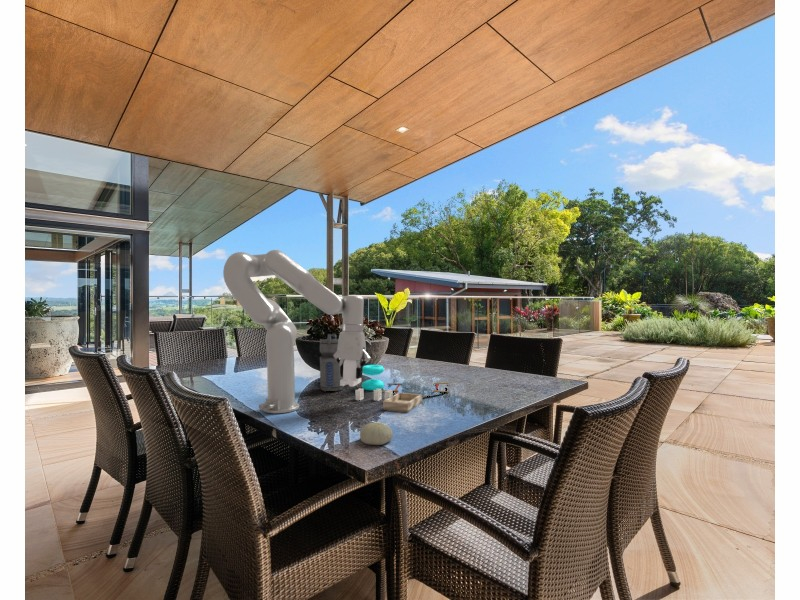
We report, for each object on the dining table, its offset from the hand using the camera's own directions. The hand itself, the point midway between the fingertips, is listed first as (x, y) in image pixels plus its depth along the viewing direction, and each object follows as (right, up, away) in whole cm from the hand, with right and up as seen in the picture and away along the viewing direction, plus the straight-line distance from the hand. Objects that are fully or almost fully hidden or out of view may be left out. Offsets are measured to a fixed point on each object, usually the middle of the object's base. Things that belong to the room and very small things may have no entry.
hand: (351, 376), depth 150 cm
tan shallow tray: (+19, -11, 0) cm, 22 cm away
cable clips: (+8, -11, +9) cm, 16 cm away
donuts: (+6, -11, +30) cm, 32 cm away
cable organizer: (0, -3, 0) cm, 3 cm away
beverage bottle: (-12, -11, +29) cm, 33 cm away
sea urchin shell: (+11, -11, -37) cm, 40 cm away
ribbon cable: (+25, -11, +23) cm, 36 cm away
